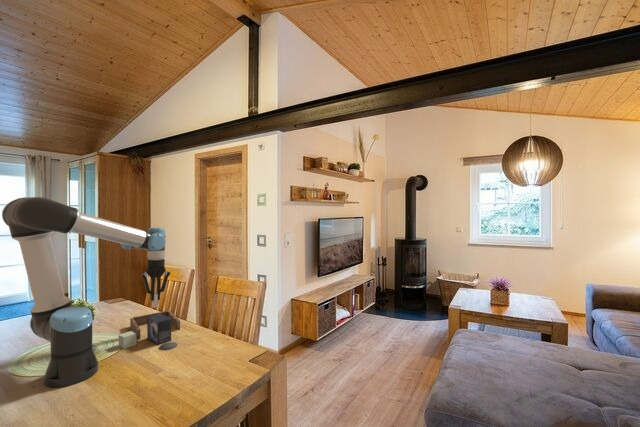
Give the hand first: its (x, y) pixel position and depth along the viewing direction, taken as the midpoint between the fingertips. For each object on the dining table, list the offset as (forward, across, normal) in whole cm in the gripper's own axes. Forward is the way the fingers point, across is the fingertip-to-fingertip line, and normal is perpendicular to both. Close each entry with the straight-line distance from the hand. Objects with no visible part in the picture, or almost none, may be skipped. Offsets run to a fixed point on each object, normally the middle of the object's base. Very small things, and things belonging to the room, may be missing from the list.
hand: (155, 306), depth 149 cm
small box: (+12, +1, +13) cm, 18 cm away
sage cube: (+13, +12, +10) cm, 20 cm away
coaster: (+12, -1, +23) cm, 26 cm away
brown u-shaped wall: (+12, -1, -4) cm, 12 cm away
